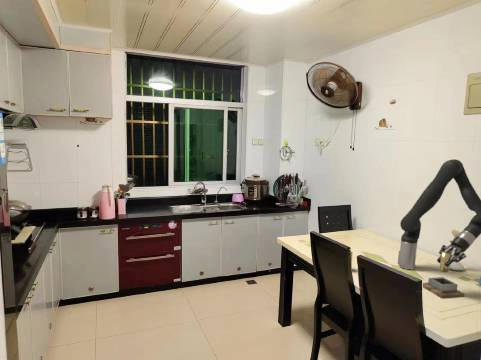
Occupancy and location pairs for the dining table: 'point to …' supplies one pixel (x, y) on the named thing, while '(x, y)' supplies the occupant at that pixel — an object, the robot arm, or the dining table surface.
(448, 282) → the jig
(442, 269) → the gold dome cylinder
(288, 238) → the dining table surface
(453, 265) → the flower in vase
